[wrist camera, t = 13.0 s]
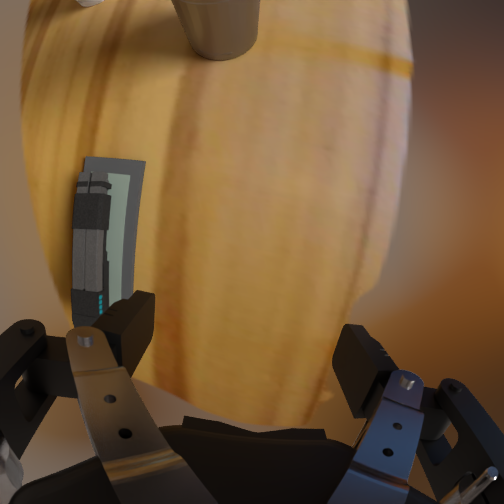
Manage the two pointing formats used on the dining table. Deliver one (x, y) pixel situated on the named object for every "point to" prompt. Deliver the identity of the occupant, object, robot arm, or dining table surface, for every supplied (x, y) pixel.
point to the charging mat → (121, 220)
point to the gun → (90, 248)
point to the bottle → (89, 2)
